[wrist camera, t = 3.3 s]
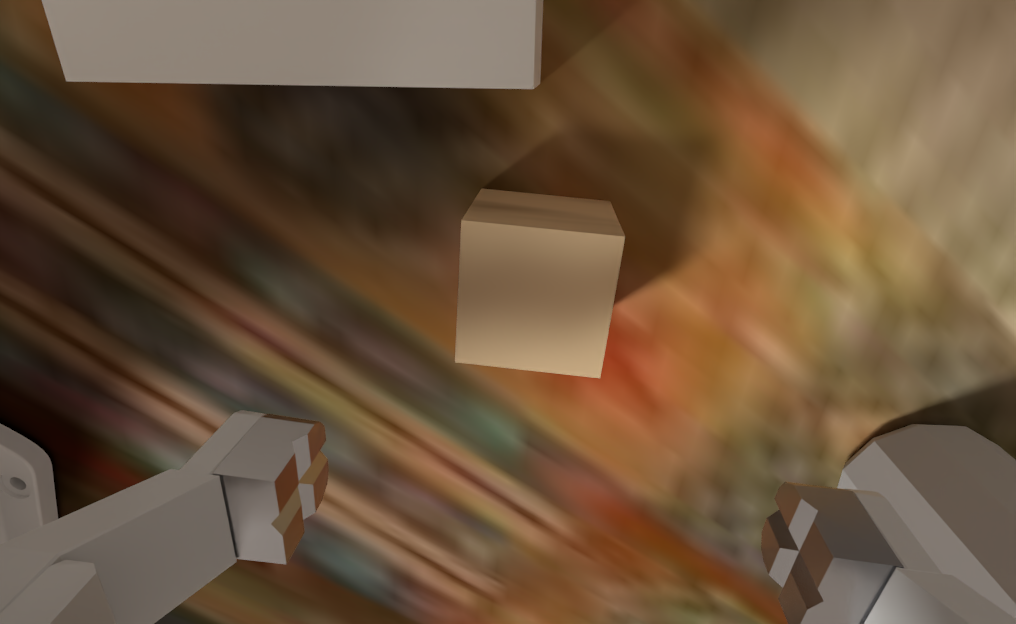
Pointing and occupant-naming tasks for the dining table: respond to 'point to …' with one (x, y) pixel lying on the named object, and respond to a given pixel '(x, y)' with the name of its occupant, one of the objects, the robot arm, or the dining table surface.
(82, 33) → the white square block
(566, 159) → the dining table surface
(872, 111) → the dining table surface
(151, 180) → the dining table surface
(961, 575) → the water bottle
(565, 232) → the oak cube
